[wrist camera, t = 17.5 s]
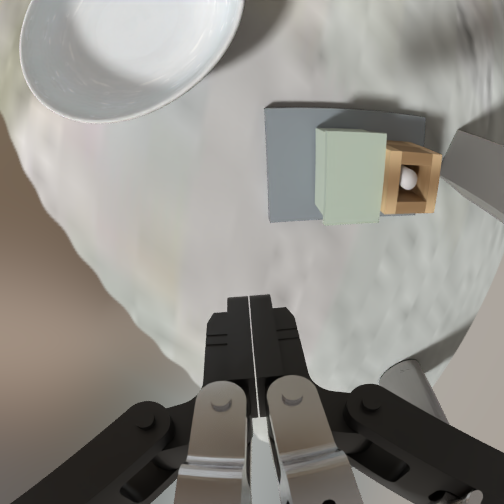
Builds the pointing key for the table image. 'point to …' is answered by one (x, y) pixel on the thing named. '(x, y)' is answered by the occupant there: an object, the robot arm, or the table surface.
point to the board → (304, 152)
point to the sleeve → (427, 178)
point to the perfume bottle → (476, 171)
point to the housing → (349, 175)
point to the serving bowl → (121, 53)
